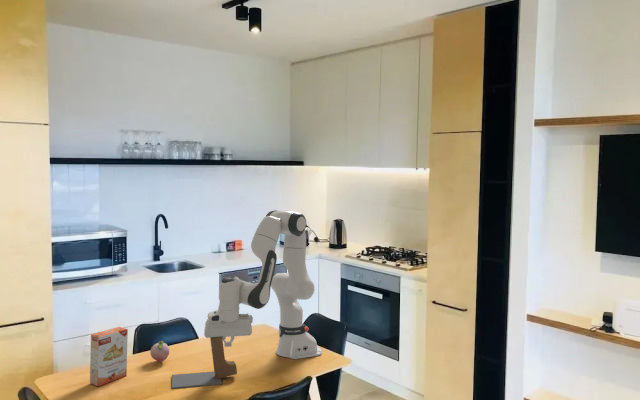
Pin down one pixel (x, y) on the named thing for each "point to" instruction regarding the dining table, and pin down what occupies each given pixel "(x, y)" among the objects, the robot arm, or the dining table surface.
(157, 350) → the turnip
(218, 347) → the wooden block
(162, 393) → the dining table surface
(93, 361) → the cracker box
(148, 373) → the dining table surface
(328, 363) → the dining table surface
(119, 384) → the dining table surface
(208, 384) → the charcoal rubber mat
